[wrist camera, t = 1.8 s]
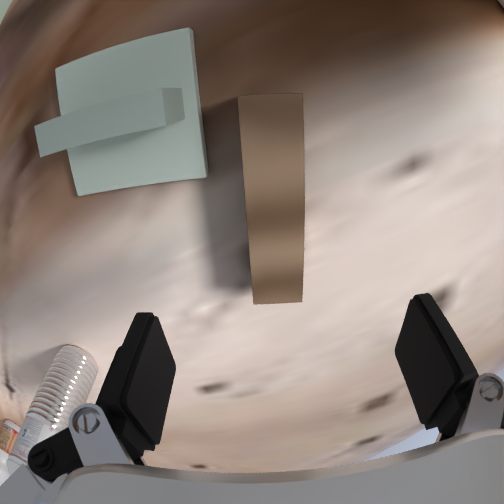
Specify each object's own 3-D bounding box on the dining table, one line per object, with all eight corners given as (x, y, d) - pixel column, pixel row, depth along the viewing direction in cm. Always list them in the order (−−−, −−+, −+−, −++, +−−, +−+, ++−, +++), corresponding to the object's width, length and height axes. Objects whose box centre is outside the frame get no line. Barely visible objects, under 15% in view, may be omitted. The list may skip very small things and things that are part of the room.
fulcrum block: (193, 30, 18) (171, 11, 12) (209, 172, 24) (193, 199, 18) (64, 68, 19) (18, 70, 13) (85, 190, 25) (47, 219, 19)
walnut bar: (241, 95, 21) (237, 95, 17) (293, 93, 21) (302, 93, 17) (253, 270, 29) (253, 304, 25) (295, 268, 29) (302, 301, 25)
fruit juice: (30, 434, 63) (7, 499, 39) (24, 435, 66) (2, 495, 42) (8, 417, 59) (-19, 482, 35) (3, 419, 62) (-21, 479, 38)
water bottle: (61, 335, 35) (-9, 485, 13) (103, 358, 37) (46, 516, 15) (59, 359, 38) (2, 491, 16) (97, 379, 40) (50, 517, 18)
